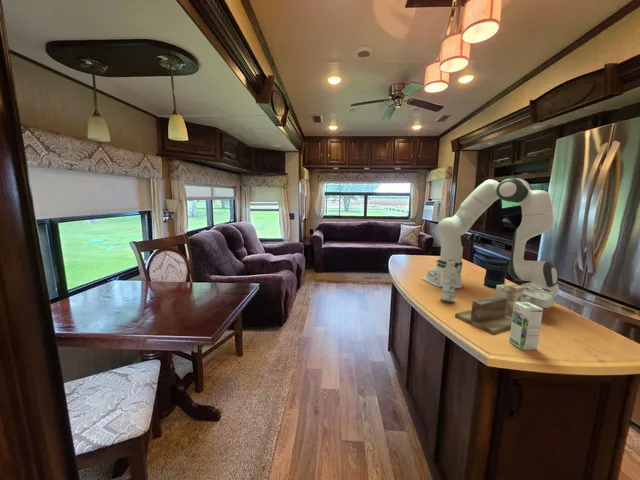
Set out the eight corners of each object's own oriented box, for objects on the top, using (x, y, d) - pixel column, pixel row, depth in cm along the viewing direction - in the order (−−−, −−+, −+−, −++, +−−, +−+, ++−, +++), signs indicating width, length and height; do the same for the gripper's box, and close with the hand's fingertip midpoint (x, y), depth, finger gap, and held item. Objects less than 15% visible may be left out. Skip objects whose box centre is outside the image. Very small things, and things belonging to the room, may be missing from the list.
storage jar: (479, 284, 158) (482, 259, 156) (491, 282, 161) (494, 258, 159) (495, 290, 149) (499, 263, 146) (508, 288, 152) (511, 262, 150)
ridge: (454, 316, 114) (456, 296, 112) (483, 310, 121) (485, 290, 120) (492, 334, 100) (495, 311, 98) (522, 325, 107) (525, 303, 106)
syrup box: (508, 341, 95) (513, 301, 93) (523, 340, 95) (529, 301, 93) (521, 350, 89) (527, 308, 87) (538, 349, 90) (544, 308, 88)
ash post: (500, 313, 118) (504, 284, 116) (507, 311, 120) (511, 283, 118) (512, 318, 113) (516, 288, 111) (520, 316, 115) (524, 286, 113)
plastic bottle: (456, 301, 132) (460, 260, 129) (452, 304, 127) (456, 263, 124) (442, 297, 136) (446, 258, 133) (438, 301, 131) (441, 260, 128)
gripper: (507, 279, 130) (488, 283, 124) (558, 293, 111) (539, 298, 106) (505, 292, 131) (486, 296, 125) (556, 308, 112) (537, 313, 107)
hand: (511, 297), depth 115 cm, fingers closed on ash post, 5 cm apart
